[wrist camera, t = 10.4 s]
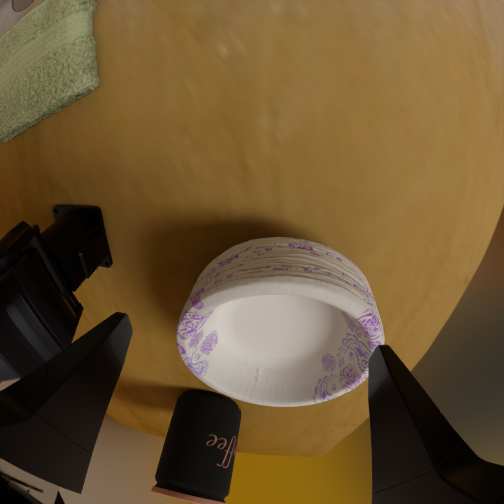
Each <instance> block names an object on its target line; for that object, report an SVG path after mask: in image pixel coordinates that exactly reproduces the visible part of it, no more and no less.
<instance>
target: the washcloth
mask: <svg viewBox="0 0 504 504" xmlns="http://www.w3.org/2000/svg"><path fill="white" fill-rule="evenodd" d="M96 6H97V2H96V0H44V1H43V2H42V3H41V4H40V5H39V6H37V7H36V8H34V9H33V10H31V11H30V12H29V13H28V14H27V15H26V16H24V17H23V18H22V19H21V20H20V21H19V22H18V23H17V24H16V25H14V26H13V27H12V28H11V29H10V30H9V31H7V32H6V33H5V34H4V35H3V36H2V37H1V38H0V141H2V142H4V143H6V142H8V141H10V140H12V139H13V138H14V137H15V136H16V135H19V134H21V133H22V132H23V131H25V130H26V129H28V127H31V126H33V125H35V124H36V123H38V122H40V121H41V120H42V119H45V118H47V117H48V116H50V115H51V114H52V113H55V112H58V111H60V110H61V109H62V108H63V107H65V106H68V105H70V104H71V102H75V100H77V99H78V98H80V97H83V96H86V95H87V94H89V93H90V92H92V91H93V90H94V89H95V88H96V87H97V86H98V85H99V78H98V75H97V74H98V68H97V60H96V58H95V57H96V49H95V48H96V41H97V40H96V38H95V37H93V31H94V29H93V26H94V22H93V15H94V13H95V11H96Z"/></svg>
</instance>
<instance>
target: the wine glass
mask: <svg viewBox="0 0 504 504" xmlns="http://www.w3.org/2000/svg"><path fill="white" fill-rule="evenodd" d="M33 1H34V0H12V9H13V10H14V11H15V12H19V11H22V10H24V9H25V8H26V7H28V6H29V5H30V4H31V3H32V2H33Z"/></svg>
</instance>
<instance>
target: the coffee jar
mask: <svg viewBox="0 0 504 504" xmlns="http://www.w3.org/2000/svg"><path fill="white" fill-rule="evenodd" d="M240 421H241V411H240V409H239V408H238V405H237V404H236V403H235V402H234V401H233V400H231V399H230V398H228V397H225V396H223V395H221V394H217V393H214V392H209V391H203V390H192V391H187V392H185V393H184V394H183V395H181V396H179V398H178V399H177V402H176V406H175V409H174V412H173V416H172V419H171V422H170V426H169V429H168V433H167V436H166V439H165V443H164V447H163V450H162V453H161V457H160V461H159V464H158V468H157V472H156V475H155V479H156V481H157V484H156V485H155V487H154V486H153V488H152V490H151V491H152V492H154V493H157V494H160V495H164V496H167V497H170V498H174V499H178V500H182V501H186V502H190V503H194V504H226V503H225V501H224V498H225V497H226V496H228V494H229V490H230V484H231V478H232V472H233V465H234V459H235V453H236V447H237V440H238V434H239V428H240Z"/></svg>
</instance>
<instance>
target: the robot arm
mask: <svg viewBox="0 0 504 504" xmlns="http://www.w3.org/2000/svg"><path fill="white" fill-rule="evenodd" d="M95 211H96V212H97V213H96V212H95ZM53 214H54V218H55V221H56V222H54V223H53V224H52V225H51V226H49V227H48V228H47V229H46V230H45V231H43V232H42V233H40V231H39V230H40V229H39V227H38V224H36V225H33V226H31V227H30V225H28V224H27V223H26V222H24V221H22V222H20V223H19V224H17V225H16V226H15V227H14V228H12V229H11V230H10V231H9V232H8V233H7V234H6V235H5V236H4V237H3V238H2V239H1V240H0V383H1V382H3V381H8V380H14V379H19V378H20V380H18V381H17V382H15V383H13V384H12V385H10V386H8V387H7V388H5V389H3V390H2V391H0V504H65V503H64V501H63V499H62V497H61V495H60V493H59V491H58V489H59V487H62V488H65V489H68V490H70V491H73V492H76V493H79V494H81V492H82V489H83V485H84V481H85V477H86V474H87V470H88V466H89V463H90V460H91V456H92V453H93V449H94V446H95V443H96V440H97V437H98V433H99V431H100V428H101V425H102V422H103V419H104V416H105V413H106V410H107V408H108V405H109V402H110V399H111V397H112V394H113V391H114V389H115V386H116V383H117V381H118V378H119V376H120V373H121V370H122V368H123V364H124V361H125V357H126V354H127V350H128V347H129V343H130V340H131V337H132V332H133V330H132V326H131V323H130V320H129V317H128V315H127V314H126V313H121V312H116V313H114V314H113V315H111V316H110V317H108V318H107V319H106V320H104V321H103V322H101V323H100V324H98V325H97V326H96V327H94V328H93V329H91V330H90V331H88V332H87V333H86V334H84V335H83V336H81V337H80V338H79V339H77V340H76V341H74V342H73V343H72V340H73V338H74V335H75V332H76V329H77V326H78V323H79V320H80V317H81V314H82V311H83V309H84V308H83V306H82V305H81V303H79V302H78V300H77V298H76V297H75V295H74V294H73V292H75V291H76V290H77V289H78V287H79V286H80V285H81V284H82V283H83V281H84V280H85V279H86V278H87V279H88V278H89V277H90V276H91V275H92V274H93V272H94V271H95V270H96V269H97V268H98V266H101V267H106V268H110V267H111V266H112V264H113V262H112V258H111V254H110V250H109V245H108V241H107V237H106V232H105V227H104V222H103V217H102V212H101V209H100V208H99V207H96V206H73V205H56V206H54V207H53ZM72 291H73V292H72ZM71 343H72V344H71ZM368 402H369V414H370V427H371V445H372V504H504V466H502V465H498V464H495V463H490V462H487V461H485V460H483V459H481V458H480V457H478V456H477V455H476V454H475V453H474V451H473V450H472V449H471V448H470V447H469V446H468V445H467V444H466V442H465V441H464V440H463V439H462V438H461V437H460V436H459V434H458V433H457V432H456V431H455V430H454V428H453V427H452V426H451V425H450V423H449V422H448V421H447V419H446V418H445V417H444V415H443V414H442V413H440V410H439V409H438V407H437V406H436V405H435V403H434V402H433V401H432V399H431V398H430V397H429V396H428V394H427V393H426V391H425V390H424V389H423V388H422V387H421V385H420V384H419V383H418V381H417V380H416V379H415V377H414V376H413V375H412V373H411V372H410V371H409V370H408V368H407V367H406V366H405V365H404V363H403V362H402V361H401V360H400V358H399V357H398V356H397V355H396V353H395V352H394V351H393V350H392V349H391V347H390V346H389V345H378V346H377V347H376V348H375V350H374V351H373V353H372V355H371V356H370V358H369V361H368Z"/></svg>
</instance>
